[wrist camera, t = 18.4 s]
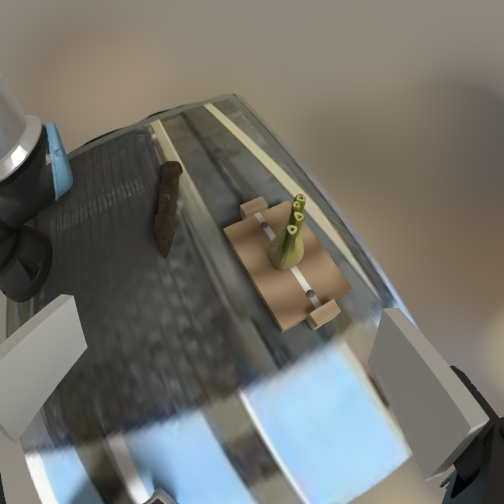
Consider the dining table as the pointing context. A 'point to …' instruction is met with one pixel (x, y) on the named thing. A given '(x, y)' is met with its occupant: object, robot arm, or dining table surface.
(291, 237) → the fennel bulb
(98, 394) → the dining table surface
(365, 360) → the dining table surface
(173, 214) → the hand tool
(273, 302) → the tan wooden board
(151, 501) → the hammer
